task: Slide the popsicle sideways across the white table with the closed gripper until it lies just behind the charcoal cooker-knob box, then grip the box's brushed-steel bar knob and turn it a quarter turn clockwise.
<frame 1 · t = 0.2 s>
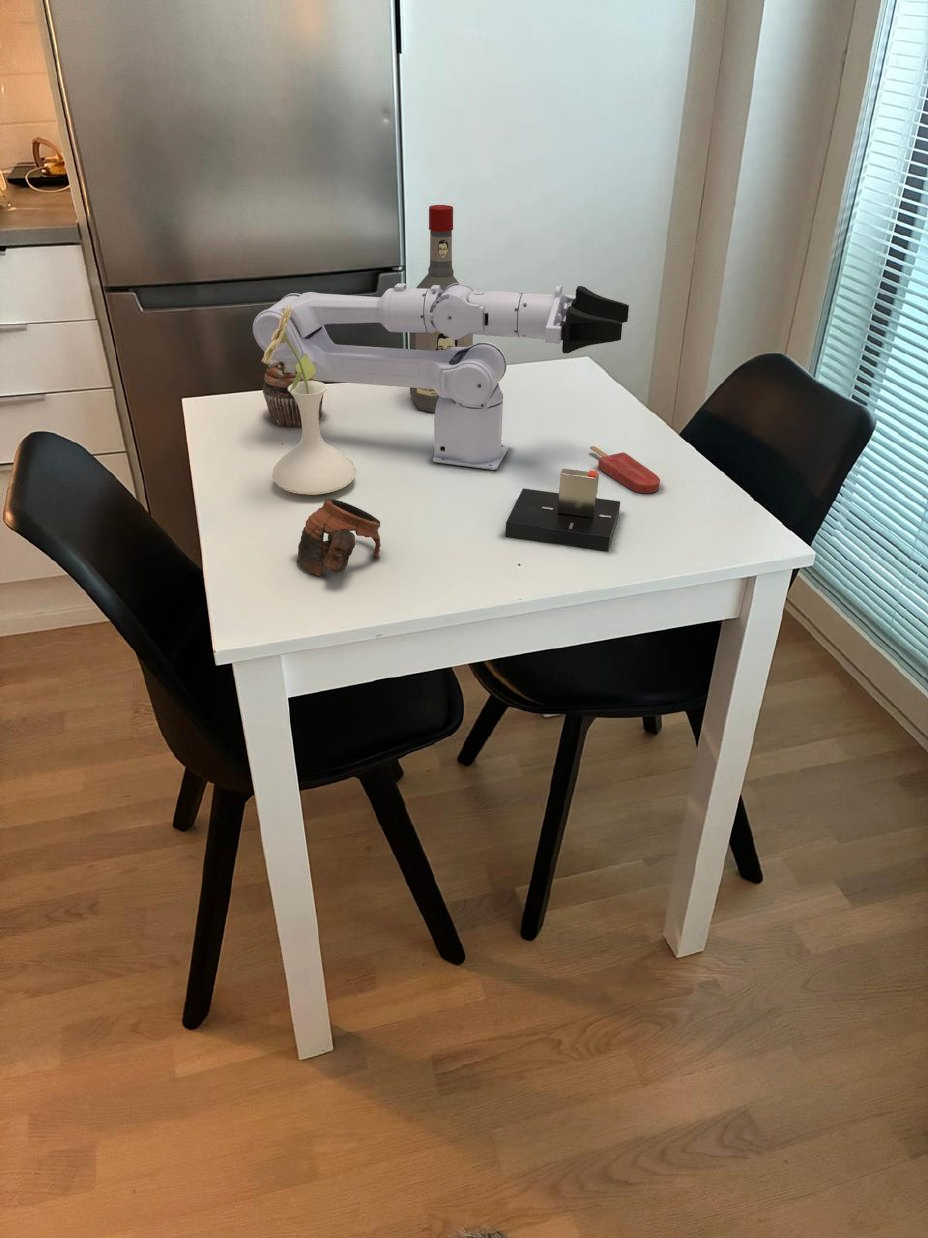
hand: (625, 322, 123), 21 cm above the table, tool horizontal, fingers open, 7 cm apart
pottery mug: (339, 564, 113), on the table
knob: (578, 492, 119), point 5 cm above the table, hinge at 0.0°
knob box: (563, 525, 122), on the table
popsicle: (620, 473, 135), on the table
flower in vase: (312, 487, 130), on the table
liquor: (440, 403, 156), on the table
cupcake: (296, 418, 150), on the table
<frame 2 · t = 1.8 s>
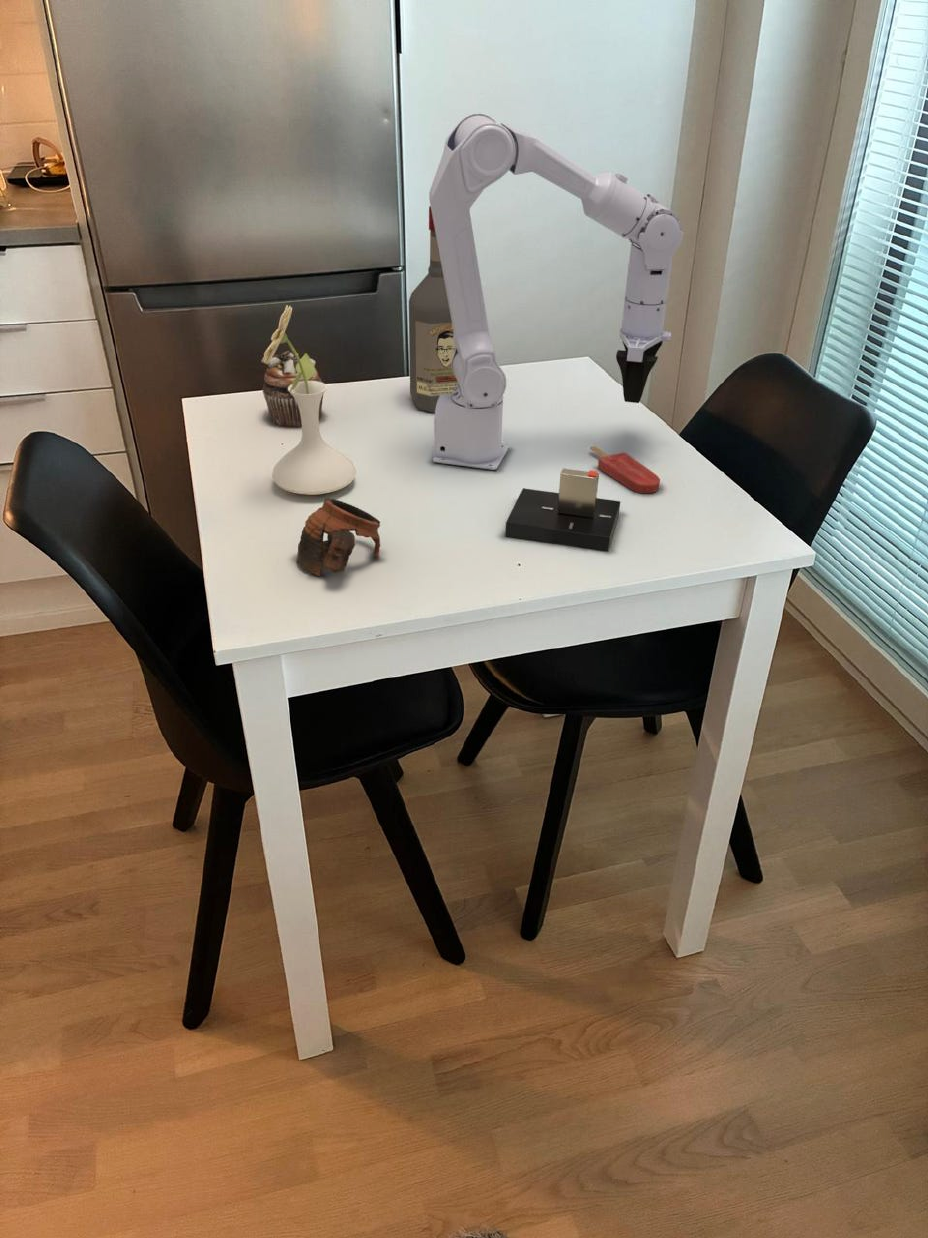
hand: (634, 394, 137), 8 cm above the table, tool pointing down, fingers open, 5 cm apart
nothing on the table moved.
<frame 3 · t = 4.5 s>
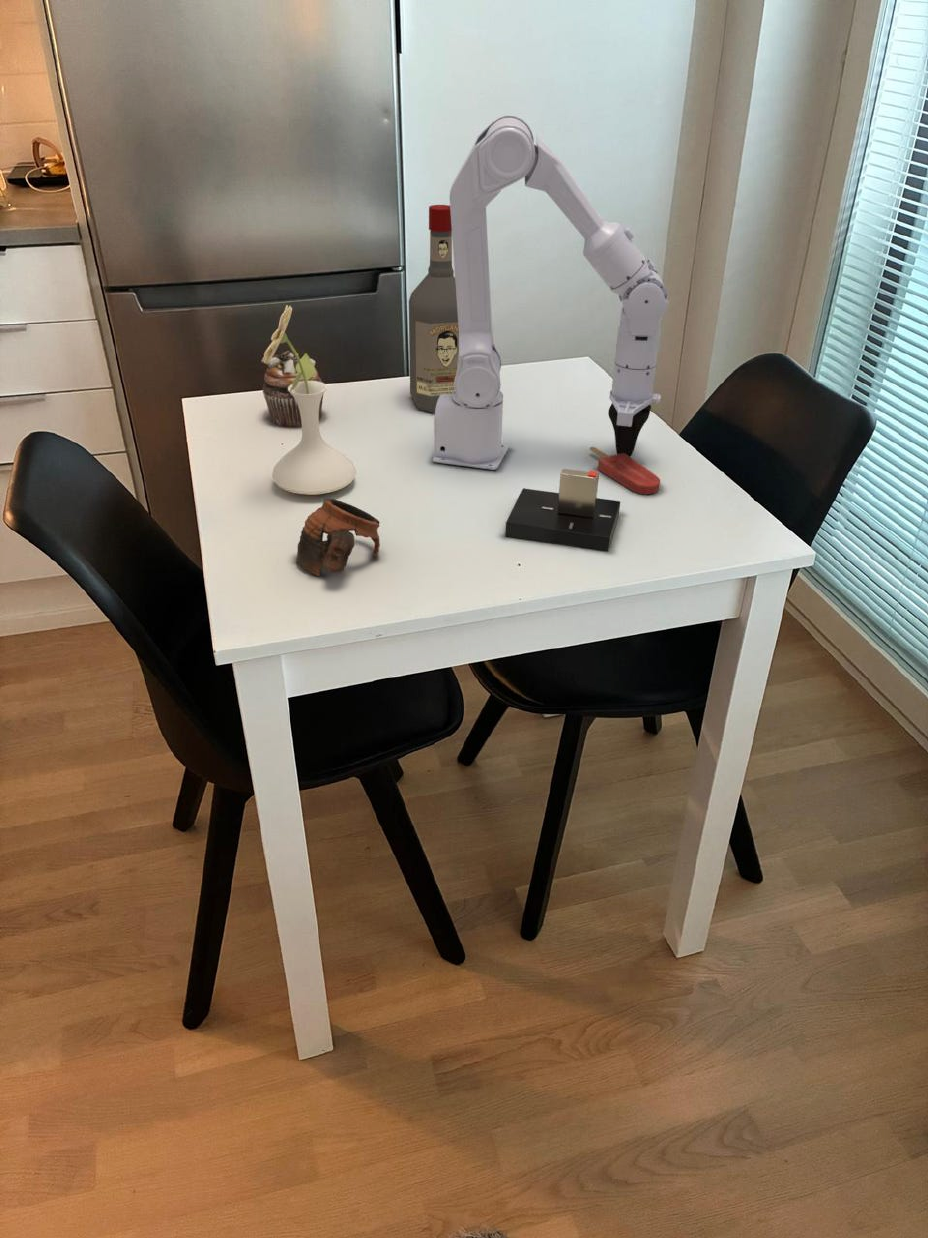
hand: (624, 454, 138), 1 cm above the table, tool pointing down, fingers closed
popsicle: (620, 474, 135), on the table, touching gripper
everything else where it was.
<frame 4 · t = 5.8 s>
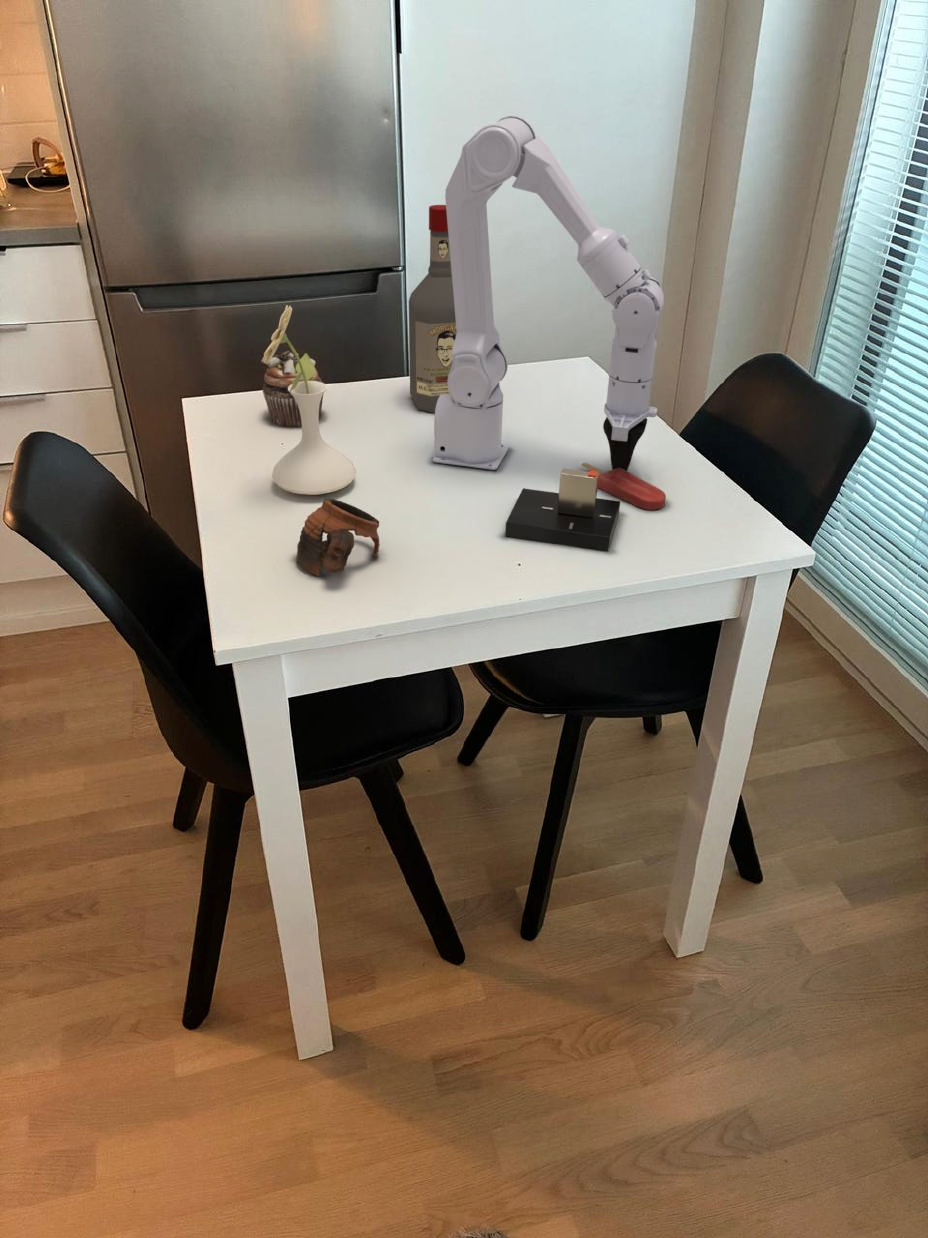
hand: (619, 469, 133), 1 cm above the table, tool pointing down, fingers closed
popsicle: (619, 489, 131), on the table, touching gripper
everything else where it was.
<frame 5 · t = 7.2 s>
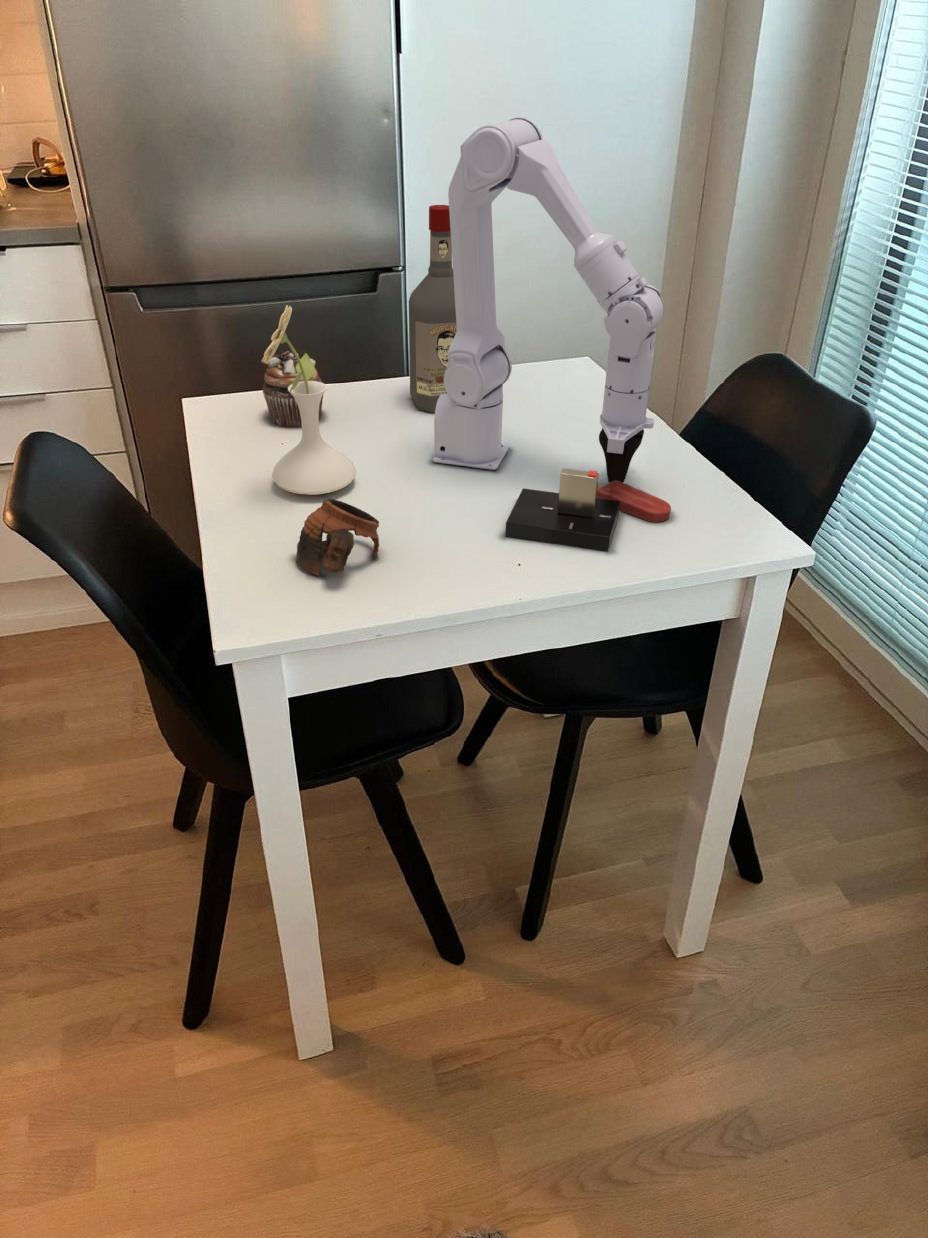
hand: (616, 481, 130), 1 cm above the table, tool pointing down, fingers closed
popsicle: (619, 502, 128), on the table, touching gripper
everything else where it was.
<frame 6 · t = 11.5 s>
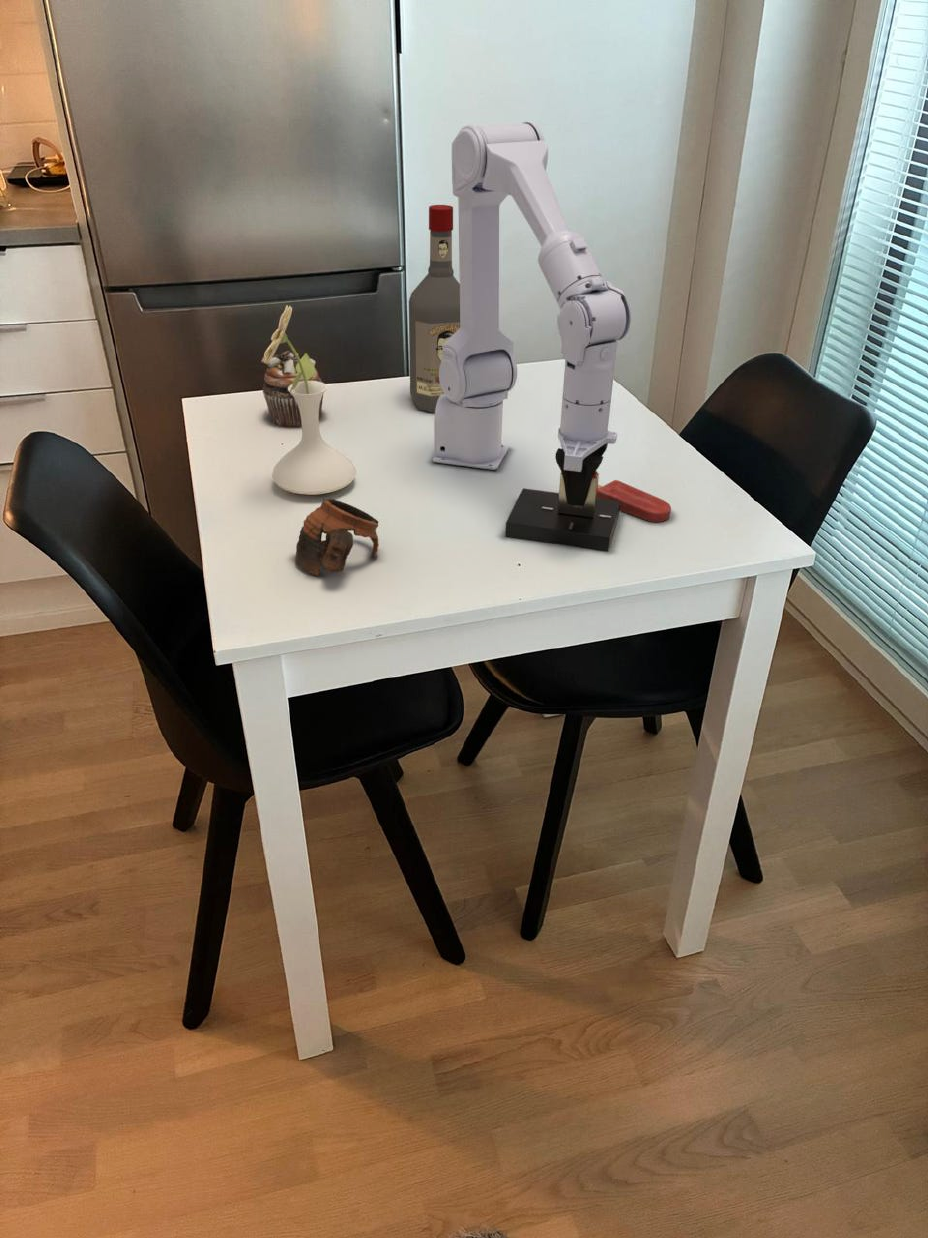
hand: (577, 500, 119), 4 cm above the table, tool pointing down, fingers closed on knob, 2 cm apart
knob: (578, 492, 119), point 5 cm above the table, hinge at 0.0°, touching gripper
popsicle: (619, 502, 128), on the table
everything else where it was.
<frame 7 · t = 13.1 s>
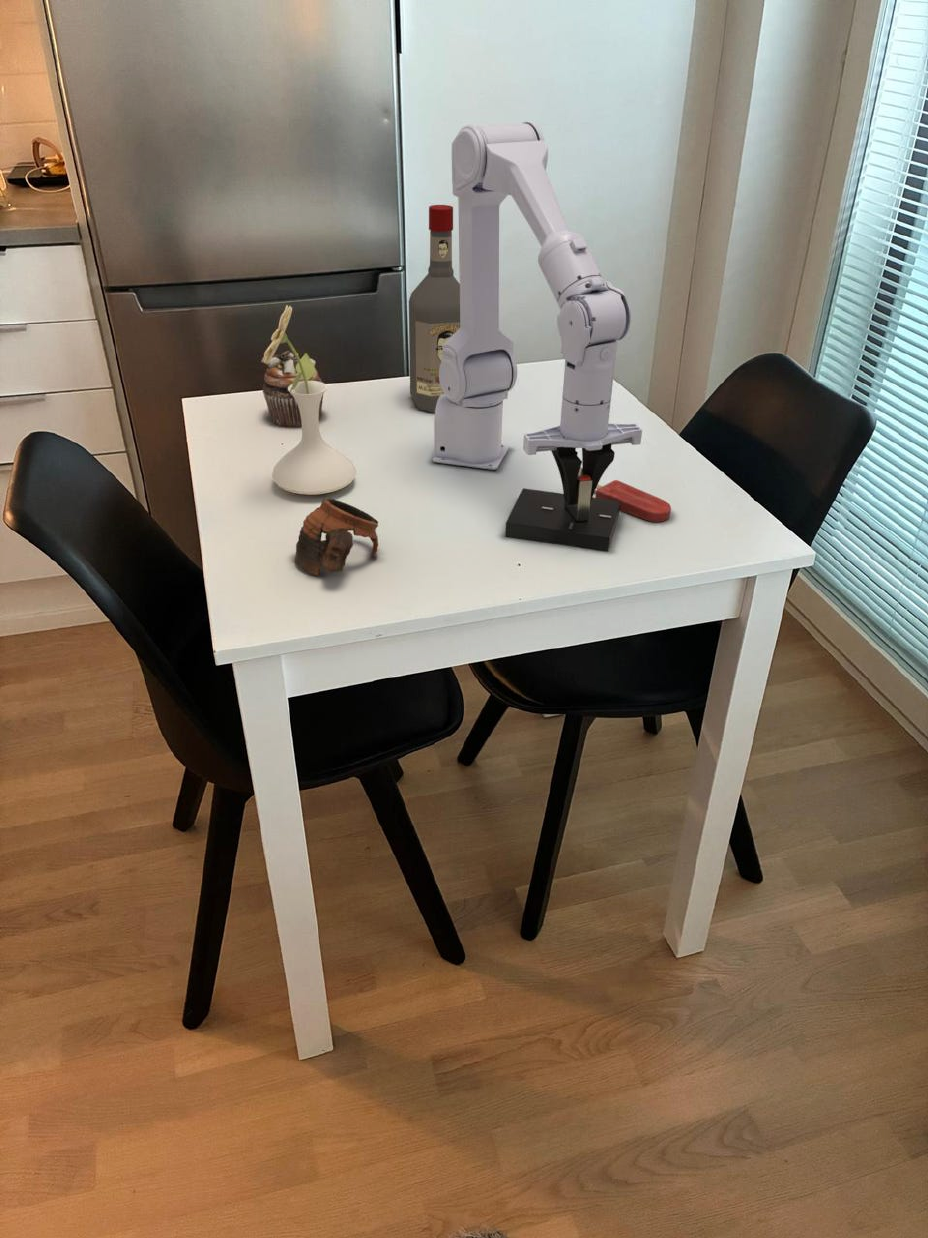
hand: (577, 500, 119), 4 cm above the table, tool pointing down, fingers closed on knob, 2 cm apart
knob: (578, 492, 119), point 5 cm above the table, hinge at -60.1°, touching gripper
everything else where it was.
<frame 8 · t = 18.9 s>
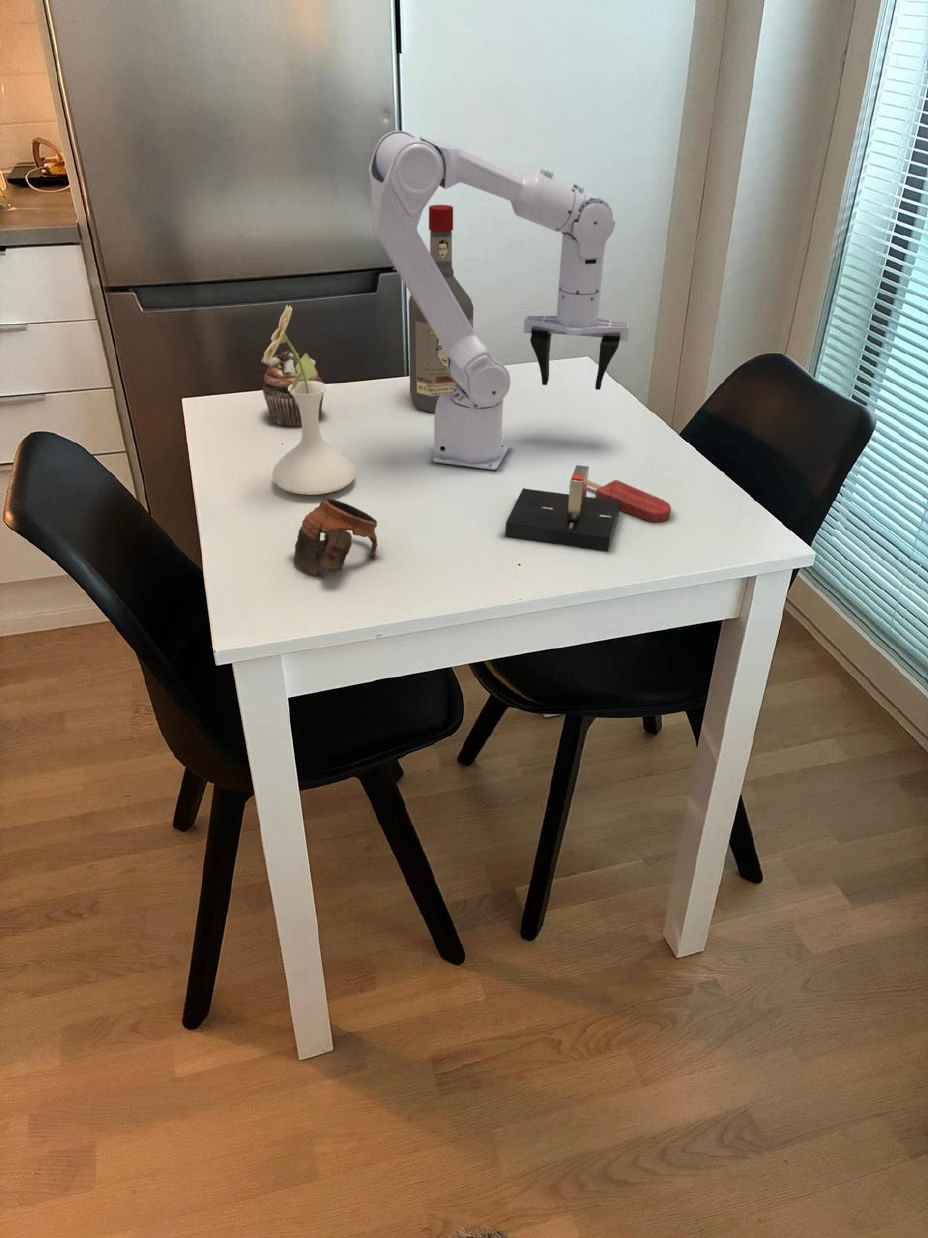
hand: (571, 384, 137), 9 cm above the table, tool pointing down, fingers open, 7 cm apart
knob: (578, 492, 119), point 5 cm above the table, hinge at -89.9°
everything else where it was.
at the end: popsicle inside the target area (1.1 cm from its centre), on the table; knob at -90° (first picture: +0°) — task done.
